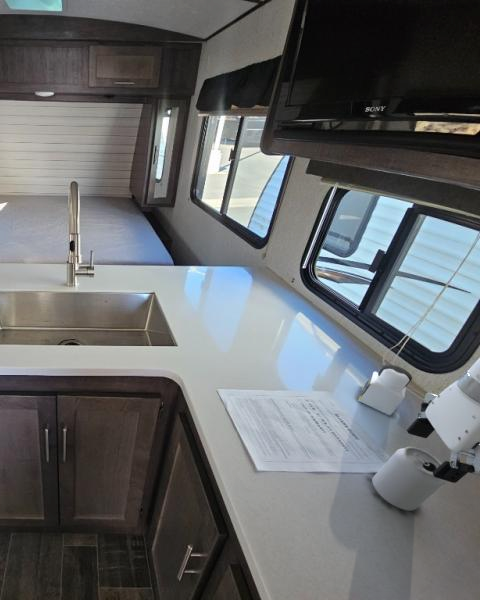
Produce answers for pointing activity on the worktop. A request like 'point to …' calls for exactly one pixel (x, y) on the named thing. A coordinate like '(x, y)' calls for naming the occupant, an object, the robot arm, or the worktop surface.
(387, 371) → the white piece
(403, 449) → the can
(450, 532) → the worktop surface
